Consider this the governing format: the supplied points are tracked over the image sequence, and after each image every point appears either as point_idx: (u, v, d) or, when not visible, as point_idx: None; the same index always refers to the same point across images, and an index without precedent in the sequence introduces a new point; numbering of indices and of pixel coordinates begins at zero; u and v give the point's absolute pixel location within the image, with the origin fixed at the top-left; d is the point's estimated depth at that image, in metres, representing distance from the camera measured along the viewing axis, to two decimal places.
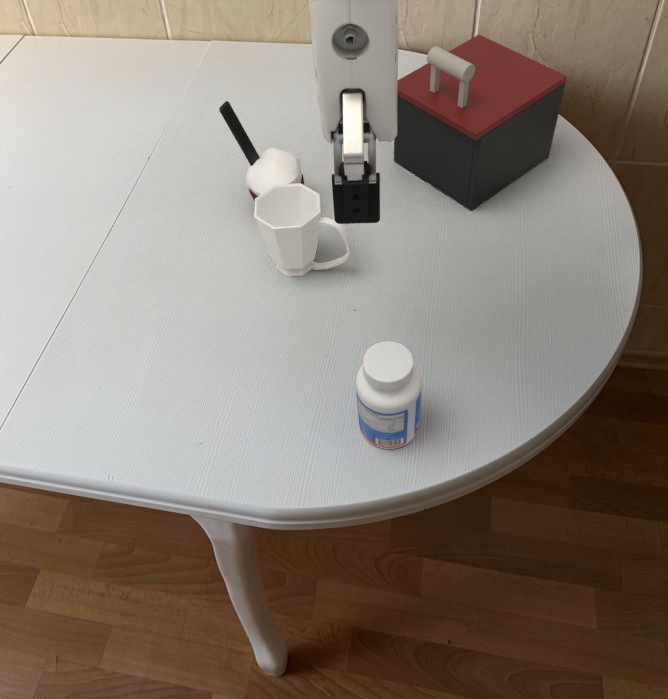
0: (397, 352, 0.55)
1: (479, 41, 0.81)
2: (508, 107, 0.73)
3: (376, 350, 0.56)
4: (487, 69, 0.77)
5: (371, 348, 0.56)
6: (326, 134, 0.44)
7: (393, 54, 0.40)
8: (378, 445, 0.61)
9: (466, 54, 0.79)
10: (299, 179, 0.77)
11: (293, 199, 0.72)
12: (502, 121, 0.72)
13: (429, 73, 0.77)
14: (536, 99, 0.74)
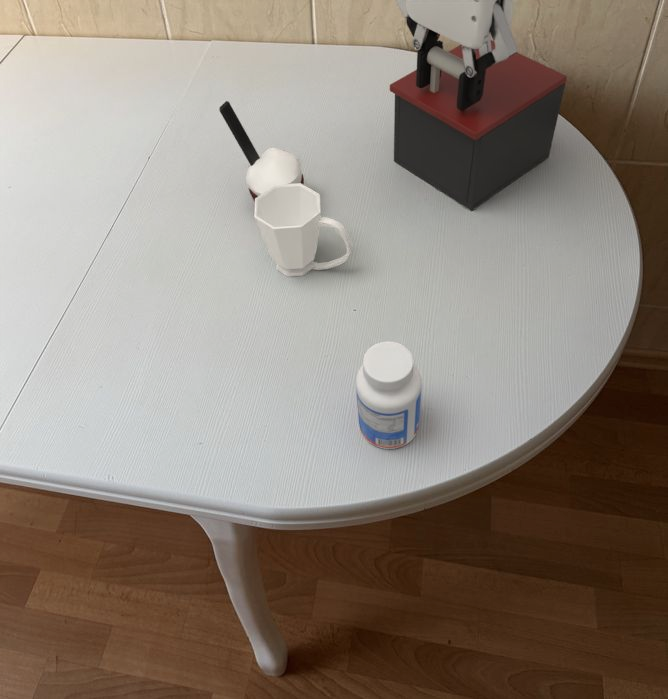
0: (397, 352, 0.55)
1: None
2: (508, 107, 0.73)
3: (376, 350, 0.56)
4: (487, 69, 0.77)
5: (371, 348, 0.56)
6: (480, 41, 0.64)
7: None
8: (378, 445, 0.61)
9: None
10: (299, 179, 0.77)
11: (293, 199, 0.72)
12: (502, 121, 0.72)
13: None
14: (536, 99, 0.74)
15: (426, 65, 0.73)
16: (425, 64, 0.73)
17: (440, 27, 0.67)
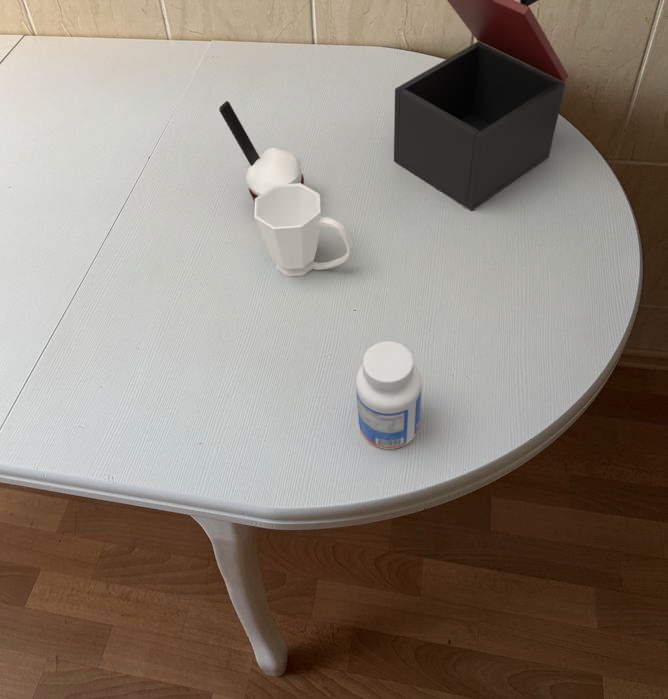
0: (397, 352, 0.55)
1: None
2: None
3: (376, 350, 0.56)
4: None
5: (371, 348, 0.56)
6: None
7: None
8: (378, 445, 0.61)
9: None
10: (299, 179, 0.77)
11: (293, 199, 0.72)
12: (538, 33, 0.67)
13: None
14: (553, 58, 0.72)
15: None
16: None
17: None
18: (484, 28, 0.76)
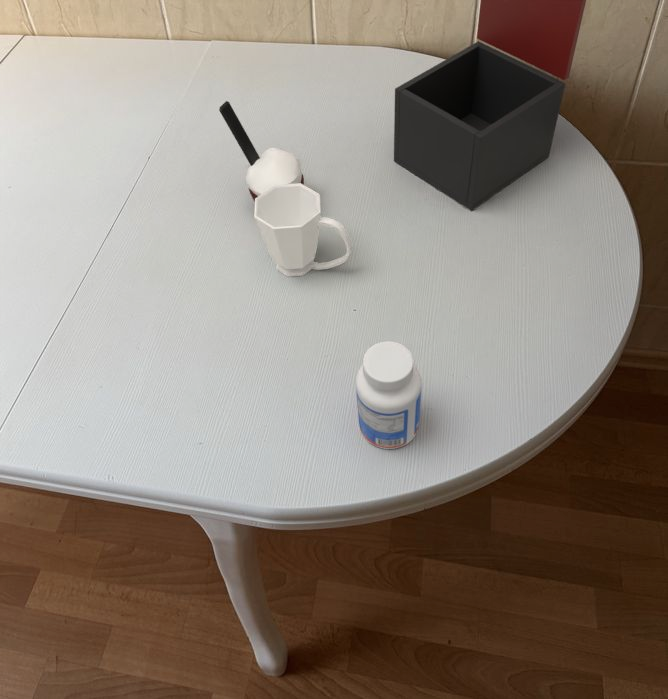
0: (397, 352, 0.55)
1: None
2: None
3: (376, 350, 0.56)
4: None
5: (371, 348, 0.56)
6: None
7: None
8: (378, 445, 0.61)
9: None
10: (299, 179, 0.77)
11: (293, 199, 0.72)
12: None
13: None
14: (576, 35, 0.72)
15: None
16: None
17: None
18: (507, 2, 0.76)
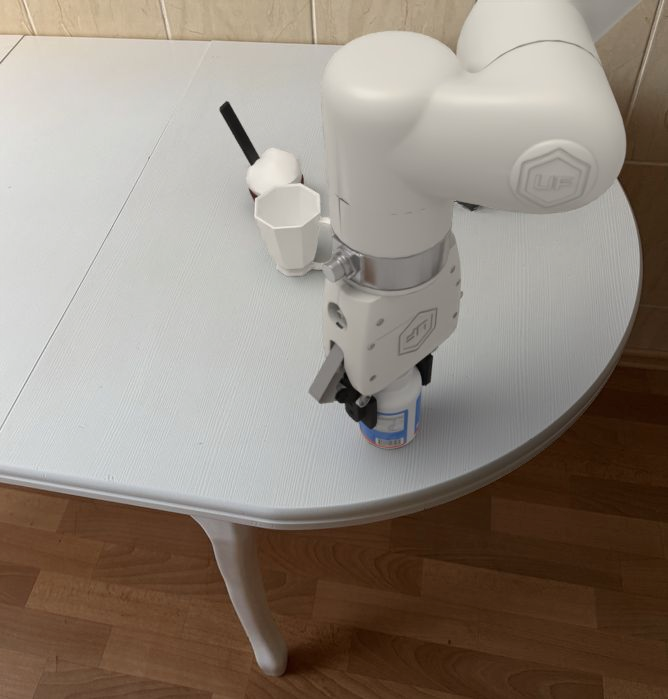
0: None
1: None
2: None
3: None
4: None
5: None
6: None
7: (365, 344, 0.46)
8: (378, 445, 0.61)
9: None
10: (299, 179, 0.77)
11: (293, 199, 0.72)
12: None
13: None
14: None
15: None
16: None
17: None
18: None
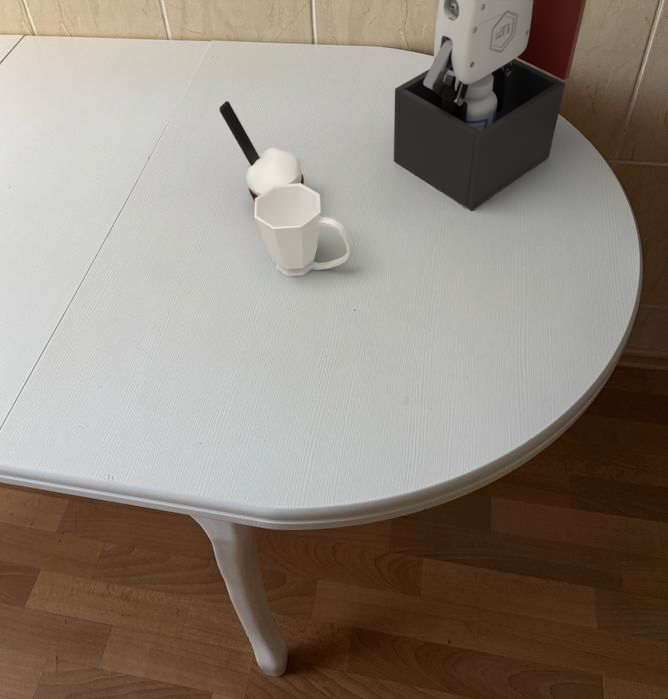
0: None
1: None
2: None
3: None
4: None
5: None
6: None
7: (471, 26, 0.66)
8: None
9: None
10: (299, 179, 0.77)
11: (293, 199, 0.72)
12: None
13: None
14: (576, 35, 0.72)
15: None
16: None
17: None
18: None
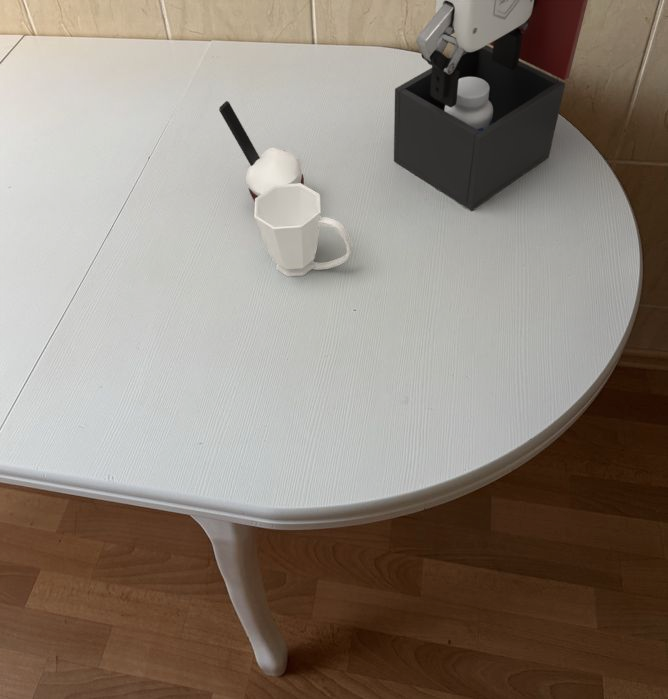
0: (477, 82, 0.76)
1: None
2: None
3: (461, 81, 0.76)
4: None
5: (458, 80, 0.76)
6: None
7: None
8: None
9: None
10: (299, 179, 0.77)
11: (293, 199, 0.72)
12: None
13: None
14: (577, 34, 0.72)
15: (498, 41, 0.76)
16: (497, 39, 0.76)
17: None
18: None
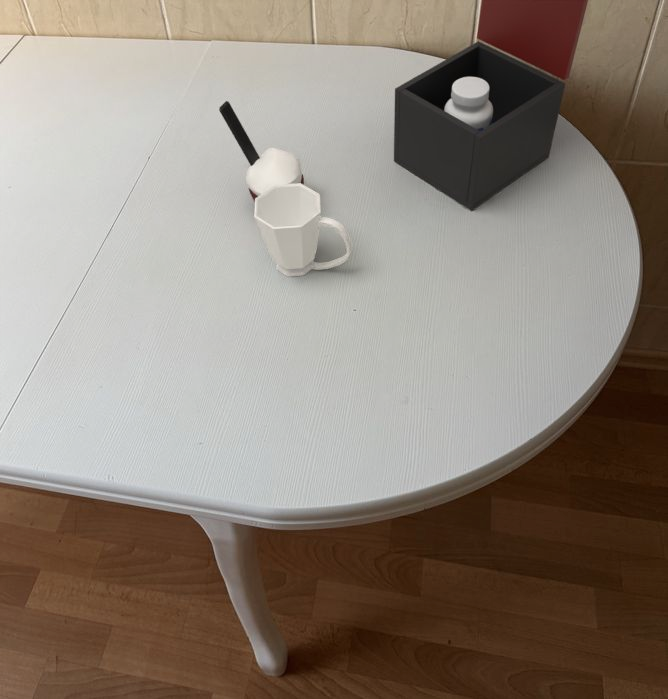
0: (476, 82, 0.76)
1: None
2: None
3: (461, 81, 0.76)
4: None
5: (457, 80, 0.76)
6: None
7: None
8: None
9: None
10: (299, 179, 0.77)
11: (293, 199, 0.72)
12: None
13: None
14: (577, 34, 0.72)
15: None
16: None
17: None
18: (509, 1, 0.76)
